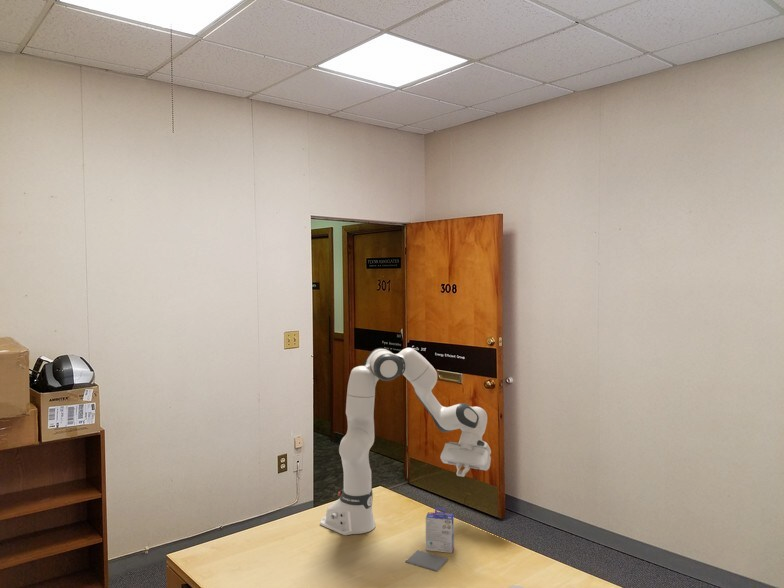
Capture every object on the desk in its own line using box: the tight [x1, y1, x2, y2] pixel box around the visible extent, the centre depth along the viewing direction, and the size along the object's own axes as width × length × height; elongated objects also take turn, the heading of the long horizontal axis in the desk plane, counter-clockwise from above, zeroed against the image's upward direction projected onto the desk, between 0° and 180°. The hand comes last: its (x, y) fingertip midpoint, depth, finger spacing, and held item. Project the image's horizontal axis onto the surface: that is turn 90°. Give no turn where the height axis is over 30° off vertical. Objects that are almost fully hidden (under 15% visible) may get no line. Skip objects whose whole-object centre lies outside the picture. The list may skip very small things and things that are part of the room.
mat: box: [405, 549, 449, 572], centre depth 192 cm, size 12×9×1 cm
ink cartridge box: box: [425, 506, 455, 554], centre depth 201 cm, size 10×6×14 cm, turn 78°
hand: (460, 475), depth 216 cm, fingers closed
